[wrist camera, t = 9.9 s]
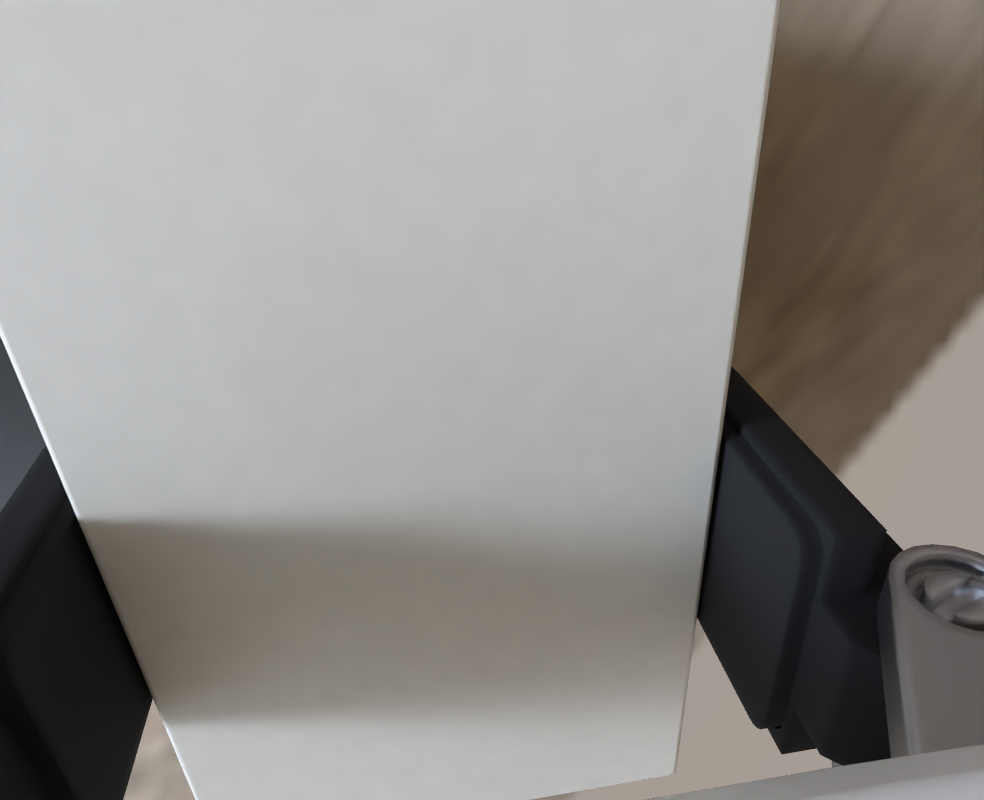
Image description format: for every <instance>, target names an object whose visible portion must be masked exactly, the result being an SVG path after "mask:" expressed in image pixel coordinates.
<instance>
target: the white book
mask: <svg viewBox="0 0 984 800" xmlns="http://www.w3.org/2000/svg"><path fill="white" fill-rule="evenodd" d="M780 4H781V0H0V336H1V339H2V341H3V343H4V346H5V348H6V351H7V353H8V355H9V358H10V360H11V362H12V365H13V367H14V370H15V372H16V374H17V377H18V379H19V381H20V384H21V386H22V389H23V391H24V393H25V396H26V398H27V400H28V403H29V405H30V408H31V410H32V412H33V415H34V417H35V419H36V422H37V424H38V427H39V429H40V431H41V434H42V436H43V438H44V441H45V443H46V446H47V448H48V450H49V453H50V455H51V457H52V460H53V462H54V465H55V467H56V469H57V472H58V474H59V476H60V479H61V481H62V483H63V486H64V488H65V491H66V493H67V495H68V498H69V500H70V502H71V505H72V507H73V510H74V512H75V514H76V517H77V519H78V521H79V524H80V526H81V529H82V531H83V533H84V536H85V538H86V540H87V543H88V545H89V548H90V550H91V552H92V555H93V557H94V559H95V562H96V564H97V567H98V569H99V571H100V574H101V576H102V578H103V581H104V583H105V586H106V588H107V590H108V593H109V595H110V597H111V600H112V602H113V605H114V607H115V609H116V612H117V614H118V616H119V619H120V621H121V624H122V626H123V628H124V631H125V633H126V635H127V638H128V640H129V642H130V645H131V647H132V650H133V652H134V654H135V657H136V659H137V661H138V664H139V666H140V669H141V671H142V673H143V676H144V678H145V680H146V683H147V685H148V688H149V690H150V692H151V695H152V697H153V699H154V702H155V704H156V707H157V709H158V711H159V714H160V716H161V718H162V721H163V723H164V726H165V728H166V730H167V733H168V735H169V737H170V740H171V742H172V745H173V747H174V749H175V752H176V754H177V756H178V759H179V761H180V764H181V766H182V768H183V771H184V773H185V775H186V778H187V780H188V783H189V785H190V787H191V790H192V792H193V794H194V797H195V799H196V800H532V799H537V798H543V797H549V796H555V795H560V794H566V793H572V792H577V791H583V790H589V789H595V788H600V787H606V786H611V785H617V784H623V783H628V782H634V781H640V780H646V779H652V778H657V777H663V776H669V775H672V774H674V773H675V772H676V766H677V759H678V752H679V745H680V737H681V730H682V722H683V715H684V708H685V701H686V693H687V686H688V678H689V671H690V664H691V657H692V649H693V642H694V635H695V627H696V620H697V613H698V605H699V598H700V591H701V583H702V576H703V569H704V561H705V554H706V547H707V539H708V532H709V525H710V517H711V510H712V503H713V495H714V488H715V481H716V473H717V466H718V459H719V451H720V444H721V437H722V429H723V422H724V415H725V407H726V400H727V393H728V385H729V378H730V371H731V363H732V356H733V349H734V341H735V334H736V327H737V319H738V312H739V305H740V297H741V290H742V283H743V275H744V268H745V261H746V253H747V246H748V239H749V231H750V224H751V217H752V209H753V202H754V195H755V187H756V180H757V173H758V165H759V158H760V151H761V143H762V136H763V129H764V121H765V114H766V107H767V99H768V92H769V85H770V77H771V70H772V63H773V55H774V48H775V41H776V33H777V26H778V19H779V11H780Z"/></svg>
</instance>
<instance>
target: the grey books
mask: <svg viewBox="0 0 984 800" xmlns="http://www.w3.org/2000/svg"><path fill="white" fill-rule="evenodd" d="M45 446H46V443H45V441H44V438H43V436H42V434H41V431H40V429H39V427H38V424H37V422H36V419H35V417H34V415H33V412H32V410H31V408H30V405H29V403H28V400H27V398H26V396H25V393H24V391H23V389H22V386H21V384H20V381H19V379H18V377H17V374H16V372H15V370H14V367H13V365H12V362H11V360H10V358H9V355H8V353H7V351H6V348H5V346H4V343H3V341H2V339H1V336H0V512H1V511H2V509H3V508H4V506H5V505H6V503H7V502H8V500H9V499H10V497H11V496H12V494H13V493H14V491H15V490H16V488H17V487H18V485H19V484H20V482H21V481H22V480H23V478H24V477H25V475H26V474H27V472H28V471H29V469H30V468H31V466H32V465H33V463H34V462H35V460H36V459H37V457H38V456H39V454H40V453H41V451H42V450H43V448H44V447H45Z"/></svg>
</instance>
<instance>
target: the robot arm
mask: <svg viewBox="0 0 984 800" xmlns="http://www.w3.org/2000/svg"><path fill="white" fill-rule="evenodd" d="M886 531H887V530H886V529H885V528H884V527H883V526H882V525H881V524H880V523H879V522H878V521H877V519H875V517H874V516H873V515H872V514H871V513H870V512H869V511H868V510H867V509H866V508H865V507H864V506H863V505H862V504H861V503H860V501H859V500H858V499H857V498H856V497H855V496H854V495H853V494H852V493H851V492H850V491H849V490H848V489H847V488H846V487H845V486H844V485H843V483H842V482H841V481H840V480H839V479H838V478H837V477H836V476H835V475H834V474H833V473H832V472H831V471H830V470H829V469H828V468H827V467H826V465H825V464H824V463H823V462H822V461H821V460H820V459H819V458H818V457H817V456H816V455H815V454H814V453H813V452H812V451H811V450H810V449H809V448H808V446H807V445H806V444H805V443H804V442H803V441H802V440H801V439H800V438H799V437H798V436H797V435H796V434H795V433H794V432H793V431H792V430H791V428H790V427H789V426H788V425H787V424H786V423H785V422H784V421H783V420H782V419H781V418H780V417H779V416H778V415H777V414H776V413H775V412H774V411H773V409H772V408H771V407H770V406H769V405H768V404H767V403H766V402H765V401H764V400H763V399H762V398H761V397H760V396H759V395H758V394H757V393H756V391H755V390H754V389H753V388H752V387H751V386H750V385H749V384H748V383H747V382H746V381H745V380H744V379H743V378H742V377H741V376H740V375H739V373H738V372H737V371H736V370H735V369H734V368H733V367H732V366H731V371H730V378H729V385H728V393H727V400H726V407H725V415H724V422H723V429H722V437H721V444H720V451H719V459H718V466H717V473H716V481H715V488H714V495H713V503H712V510H711V517H710V525H709V532H708V539H707V547H706V554H705V561H704V569H703V576H702V583H701V591H700V598H699V605H698V613H697V618H698V620H699V622H700V624H701V626H702V628H703V630H704V631H705V633H706V635H707V637H708V639H709V641H710V643H711V645H712V647H713V649H714V651H715V653H716V654H717V656H718V658H719V660H720V662H721V664H722V666H723V668H724V670H725V672H726V674H727V675H728V677H729V679H730V681H731V683H732V685H733V687H734V689H735V691H736V693H737V695H738V697H739V699H740V701H741V702H742V704H743V706H744V708H745V710H746V712H747V714H748V716H749V718H750V719H751V721H752V723H753V724H754V725H755V726H756V727H757V728H759V729H764V728H768V730H769V732H770V734H771V735H772V737H773V739H774V741H775V743H776V745H777V746H778V749H779V750H780V752H781V754H787V753H792V752H798V751H804V750H809V749H815V748H817V750H818V752H819V753H820V755H822V756H824V757H826V758H828V759H830V760H832V768H827V769H820V770H815V771H809V772H803V773H797V774H791V775H786V776H780V777H774V778H768V779H762V780H757V781H752V782H746V783H739V784H734V785H728V786H722V787H716V788H711V789H705V790H699V791H693V792H688V793H681V794H676V795H670V796H664V797H659V798H653V799H647V800H984V555H982V554H980V553H977V552H974V551H970V550H966V549H962V548H958V547H955V546H945V545H934V544H931V545H922V546H914V547H911V548H909V549H907V550H904V551H903V550H902V549H901V548H900V547H899V546H898V544H896V542H895V541H894V540H893V539H892V538H891V537H890V536H889V535H888V534H887V533H886ZM152 699H153V697H152V695H151V692H150V690H149V688H148V685H147V683H146V680H145V678H144V676H143V673H142V671H141V669H140V666H139V664H138V661H137V659H136V657H135V654H134V652H133V650H132V647H131V645H130V642H129V640H128V638H127V635H126V633H125V631H124V628H123V626H122V624H121V621H120V619H119V616H118V614H117V612H116V609H115V607H114V605H113V602H112V600H111V597H110V595H109V593H108V590H107V588H106V586H105V583H104V581H103V578H102V576H101V574H100V571H99V569H98V567H97V564H96V562H95V559H94V557H93V555H92V552H91V550H90V548H89V545H88V543H87V540H86V538H85V536H84V533H83V531H82V529H81V526H80V524H79V521H78V519H77V517H76V514H75V512H74V510H73V507H72V505H71V502H70V500H69V498H68V495H67V493H66V491H65V488H64V486H63V483H62V481H61V479H60V476H59V474H58V472H57V469H56V467H55V465H54V462H53V460H52V457H51V455H50V453H49V450H48V448H47V446H45V447H44V448H43V450H42V451H41V453H40V454H39V456H38V457H37V459H36V460H35V462H34V463H33V465H32V466H31V468H30V469H29V471H28V472H27V474H26V475H25V477H24V478H23V480H22V481H21V482H20V484H19V485H18V487H17V488H16V490H15V491H14V493H13V494H12V496H11V497H10V499H9V500H8V502H7V503H6V505H5V506H4V508H3V509H2V511H1V512H0V800H123V798H124V795H125V791H126V788H127V785H128V781H129V778H130V774H131V771H132V767H133V764H134V761H135V757H136V754H137V750H138V747H139V743H140V740H141V736H142V733H143V730H144V726H145V723H146V719H147V716H148V712H149V709H150V706H151V702H152Z"/></svg>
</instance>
